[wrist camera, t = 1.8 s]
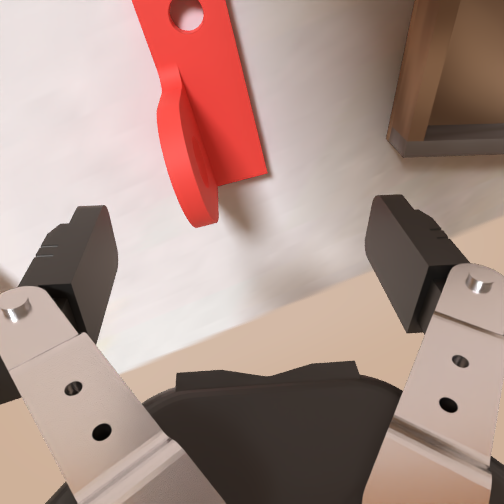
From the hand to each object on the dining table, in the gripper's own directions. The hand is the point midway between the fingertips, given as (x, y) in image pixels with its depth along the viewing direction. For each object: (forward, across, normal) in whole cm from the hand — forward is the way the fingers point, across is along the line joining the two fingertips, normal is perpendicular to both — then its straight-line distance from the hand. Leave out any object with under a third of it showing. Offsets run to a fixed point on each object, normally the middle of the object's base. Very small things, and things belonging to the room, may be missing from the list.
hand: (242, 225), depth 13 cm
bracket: (+15, +1, 0) cm, 15 cm away
